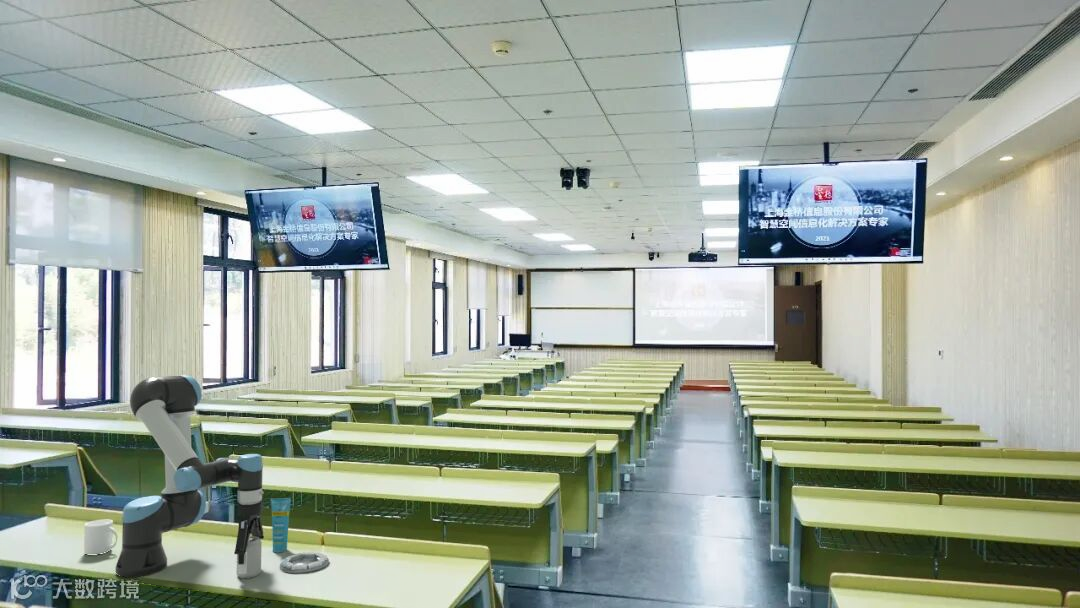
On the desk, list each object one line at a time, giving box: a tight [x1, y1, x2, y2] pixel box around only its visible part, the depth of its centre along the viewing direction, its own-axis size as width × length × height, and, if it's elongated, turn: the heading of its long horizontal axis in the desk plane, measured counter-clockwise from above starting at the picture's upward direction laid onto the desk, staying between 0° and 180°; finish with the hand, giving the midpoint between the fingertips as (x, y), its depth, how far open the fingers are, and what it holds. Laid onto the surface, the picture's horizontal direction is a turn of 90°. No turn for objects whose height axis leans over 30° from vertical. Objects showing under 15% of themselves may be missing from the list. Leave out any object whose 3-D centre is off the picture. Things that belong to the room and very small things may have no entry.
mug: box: [83, 518, 118, 554], centre depth 245 cm, size 9×12×11 cm
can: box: [236, 535, 263, 579], centre depth 223 cm, size 8×8×12 cm
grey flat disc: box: [279, 551, 330, 575], centre depth 232 cm, size 16×16×2 cm
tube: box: [270, 497, 292, 553], centre depth 248 cm, size 7×5×19 cm, turn 98°
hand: (249, 566), depth 223 cm, fingers open, 13 cm apart
